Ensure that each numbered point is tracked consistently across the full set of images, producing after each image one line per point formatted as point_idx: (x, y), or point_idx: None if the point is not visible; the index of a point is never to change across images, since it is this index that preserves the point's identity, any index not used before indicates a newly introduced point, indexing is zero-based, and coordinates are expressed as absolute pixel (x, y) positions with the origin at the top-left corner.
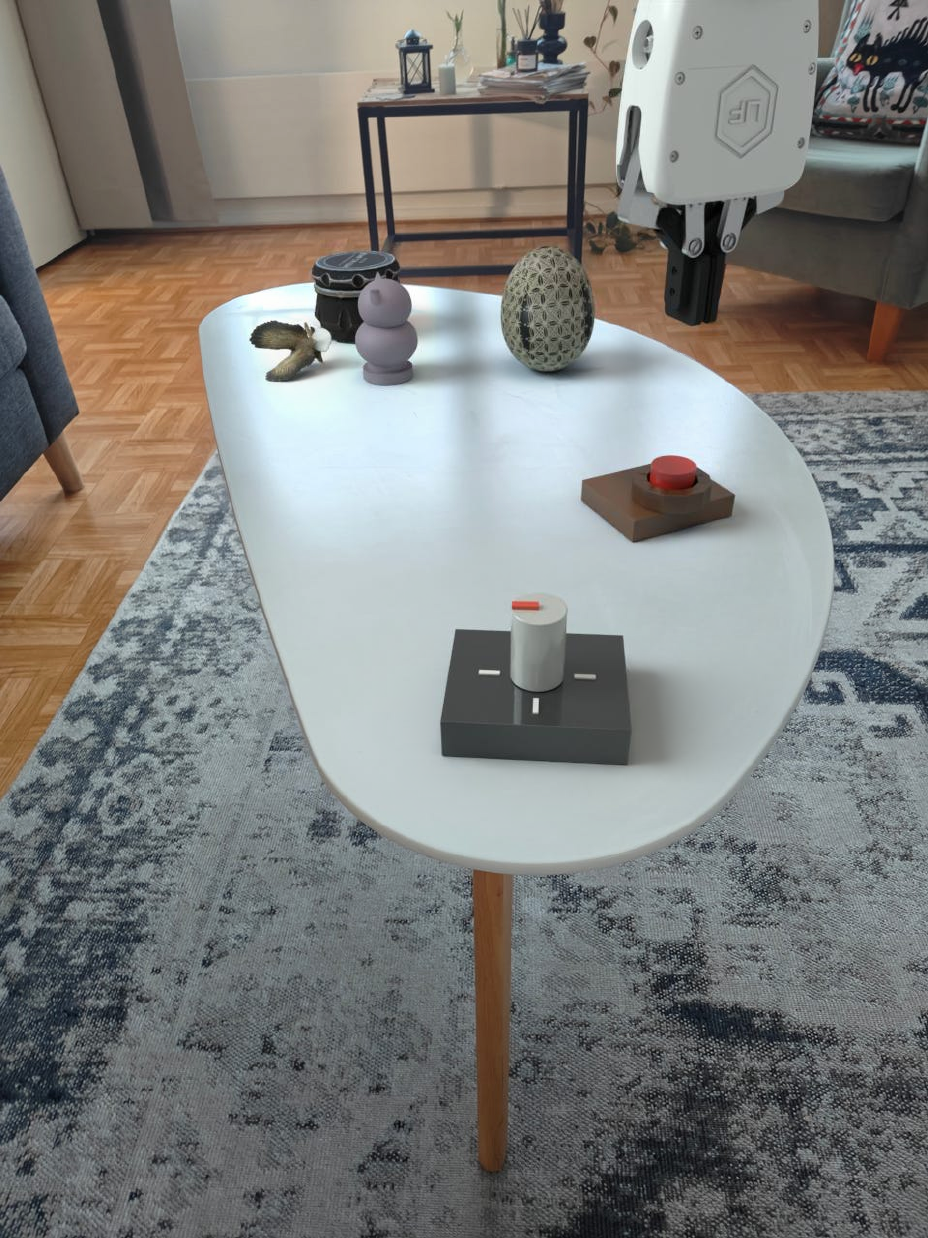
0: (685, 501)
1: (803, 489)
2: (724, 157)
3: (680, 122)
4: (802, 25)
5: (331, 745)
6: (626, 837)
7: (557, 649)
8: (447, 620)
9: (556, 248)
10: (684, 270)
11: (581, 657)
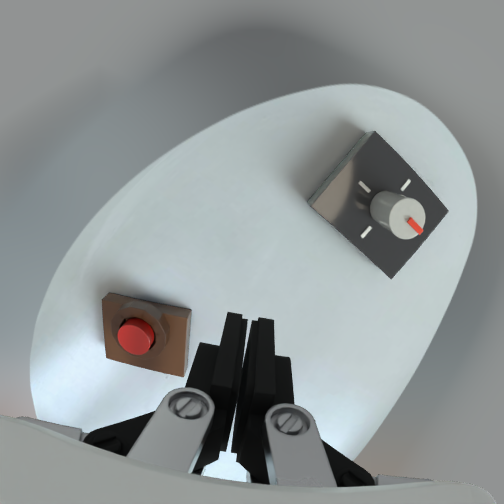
0: (146, 308)
1: (52, 285)
2: None
3: None
4: None
5: (465, 249)
6: (399, 98)
7: (398, 194)
8: (358, 307)
9: None
10: (289, 398)
11: (351, 204)
